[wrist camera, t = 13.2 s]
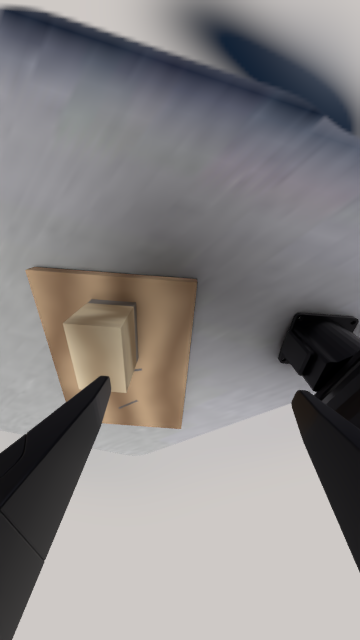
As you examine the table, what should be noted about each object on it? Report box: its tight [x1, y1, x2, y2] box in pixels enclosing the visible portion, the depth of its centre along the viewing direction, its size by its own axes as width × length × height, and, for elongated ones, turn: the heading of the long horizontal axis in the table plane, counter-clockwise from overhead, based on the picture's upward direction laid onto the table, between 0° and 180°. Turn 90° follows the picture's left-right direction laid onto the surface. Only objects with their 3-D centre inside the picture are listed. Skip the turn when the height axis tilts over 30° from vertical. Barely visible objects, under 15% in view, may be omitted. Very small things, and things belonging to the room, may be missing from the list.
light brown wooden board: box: [26, 267, 197, 429], centre depth 23 cm, size 16×22×1 cm
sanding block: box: [63, 299, 138, 393], centre depth 18 cm, size 4×7×5 cm, turn 176°
